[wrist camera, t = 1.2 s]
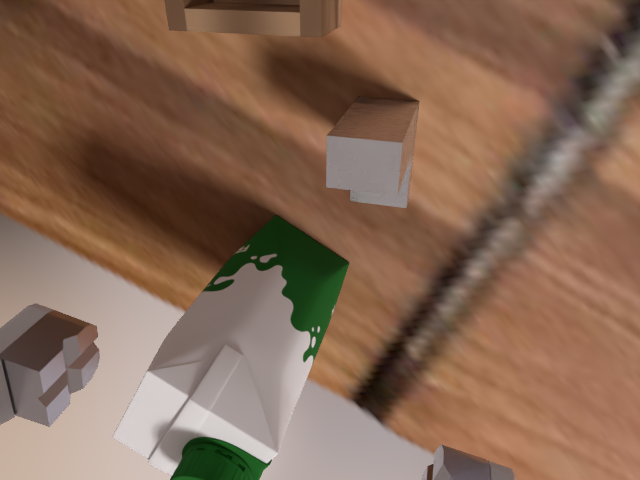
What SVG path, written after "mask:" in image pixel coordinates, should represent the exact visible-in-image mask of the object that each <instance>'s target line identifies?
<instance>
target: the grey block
mask: <svg viewBox="0 0 640 480" xmlns="http://www.w3.org/2000/svg"><path fill="white" fill-rule="evenodd" d="M418 109H419V101H408V100H395V99H381V98H368V97H358V98H357V99H356V101H355V102H354V103H353V104H352V105H351V107H350V108H349V109H348V110H347V112H346V113H345V114H344V115H343V116H342V118H341V119H340V120H339V121H338V123H337V124H336V125H335V126H334V127H333V129H332V130H331V131H330V132H329V134H328V135H327V178H326V187H329V188H337V189H345V190H351V191H350V201H355V202H363V203H371V204H379V205H387V206H395V207H402V208H406V207H407V204H408V200H409V194H410V184H411V175H412V165H413V156H414V146H415V137H416V128H417V118H418Z"/></svg>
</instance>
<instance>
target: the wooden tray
mask: <svg viewBox="0 0 640 480" xmlns="http://www.w3.org/2000/svg"><path fill="white" fill-rule="evenodd" d="M165 6H166V12H167V19H168V26H169V30H175V31H196V32H217V33H239V34H260V35H281V36H302V37H323V36H324V35H326V34H328V33H330V32H331V31H333V30H335V29H337V28H338V27H340V26H341V0H165Z"/></svg>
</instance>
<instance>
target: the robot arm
mask: <svg viewBox="0 0 640 480" xmlns="http://www.w3.org/2000/svg"><path fill="white" fill-rule="evenodd" d="M97 337H98V333H97V326H95V325H92V324H90V323H87V322H84V321H82V320H79V319H77V318H74V317H71V316H69V315H66V314H63V313H60V312H58V311H55V310H53V309H50V308H47V307H44V306H41V305H39V304H33V305H30V306H28V307H26V308H25V309H23V310H22V311H21V312H20V313H19V314H17V315H16V316H15V317H14V318H13V319H11V320H10V321H9V322H7V323H6V324H5V325H4V326H2V327H1V328H0V424H3V423H4V422H7V421H9V420H10V419H12V418H14V417H15V416H14V415H16V416H19V417H22V418H25V419H28V420H31V421H34V422H37V423H40V424H43V425H46V426H48V427H50V426H51V425H52V424H53V422H54V421H55V420H56V419H57V418H58V416H60V414H61V413H62V412H63V411H64V410H65V409H66V408H67V406H68V405H69V404H70V394H71V393H73V392H76V391H78V390H81V389H83V388H84V387H85V386H86V385H87V383H88V382H89V381H90V380H91V378H92V376H93V375H94V373H95V371H96V369H97V367H98V363H99V358H100V356H99V349H98V348H97V346H96V345H95V344H94V342H93V341H94V340H95V339H96V338H97ZM422 480H515V474H514V472H513V470H512V469H510V468H508V467H505V466H502V465H499V464H496V463H493V462H490V461H487V460H486V459H483V458H480V457H477V456H474V455H471V454H468V453H465V452H462V451H459V450H456V449H453V448H450V447H447V446H444V445H441V446H439V447H438V449H437V450H436V452H435V454H434V464H432V465H430V466H427V469H426V470H425V473H424V474H423V477H422Z"/></svg>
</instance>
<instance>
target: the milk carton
mask: <svg viewBox="0 0 640 480" xmlns="http://www.w3.org/2000/svg"><path fill="white" fill-rule="evenodd" d="M348 266H349V262H347V261H346V260H344V259H343V258H341V257H340V256H338V255H337V254H335V253H334V252H332V251H331V250H329V249H328V248H326V247H325V246H323V245H321V244H320V243H318V242H317V241H315V240H314V239H312V238H311V237H309V236H308V235H306V234H305V233H303V232H302V231H300V230H299V229H297V228H296V227H294V226H292V225H291V224H289V223H288V222H286V221H285V220H283V219H282V218H280V217H279V216H277V215H275V216H274V217H273V218H272V219H271V220H270V221H269V222H268V223H267V224H266V225H265V226H264V227H262V228H261V229H260V230H259V231H258V232H257V233H256V234H255V235H254V236H253V237H252V238H251V239H250V240H248V241H247V242H246V243H245V244H244V245H243V246H242V247H241V248H240V249H239V250H238V251H237V252H236V253H234V255H233V256H232V257H231V258H230V259H229V260H228V261H227V262H226V263H225V265H224V266H223V267H222V268H221V269H220V271H219V272H218V273H217V274H216V275H215V277H214V278H213V279H212V280H211V282H210V283H209V284H208V285H207V287H206V288H205V289H204V290H203V291H202V293H201V294H200V295H199V296H198V298H197V299H196V300H195V301H194V303H193V304H192V305H191V306H190V307H189V309H188V310H187V311H186V312H185V314H184V315H183V316H182V317H181V319H180V320H179V321H178V322H177V324H176V325H175V326H174V327H173V329H172V330H171V331H170V333H169V334H168V335H167V337H166V338H165V340H164V341H163V343H162V345H161V347H160V348H159V350H158V352H157V354H156V356H155V357H154V359H153V361H152V363H151V365H150V367H149V369H148V370H147V372H146V374H145V376H144V378H143V380H142V382H141V383H140V385H139V387H138V389H137V391H136V393H135V395H134V397H133V399H132V400H131V403H130V404H129V406H128V408H127V410H126V412H125V414H124V416H123V418H122V420H121V421H120V423H119V425H118V427H117V429H116V431H115V433H114V435H113V438H115V439H116V440H118V441H120V442H121V443H123V444H124V445H126V446H128V447H129V448H131V449H132V450H134V451H136V452H138V453H139V454H141V455H142V456H144V457H146V458H147V459H149V461H148V463H150V464H151V465H152V466H154V467H156V468H157V469H159V470H161V471H163V472H166V473H168V474H170V475H171V476H172V477H171V479H170V480H259V479H260V477H261V475H262V472H263V470H264V469H265V468H267V467H268V465H270V463H271V461H272V458H274V457H275V456H276V455H277V454H278V453H279V450H280V447H281V444H282V441H283V438H284V435H285V432H286V430H287V427H288V423H289V421H290V418H291V416H292V413H293V410H294V408H295V406H296V403H297V401H298V398H299V396H300V393H301V391H302V389H303V386H304V384H305V381H306V379H307V376H308V374H309V371H310V369H311V367H312V364H313V362H314V359H315V357H316V354H317V352H318V349H319V347H320V344H321V342H322V340H323V337H324V335H325V332H326V330H327V327H328V325H329V322H330V319H331V317H332V314H333V311H334V308H335V305H336V302H337V299H338V296H339V293H340V290H341V287H342V284H343V281H344V278H345V275H346V271H347V268H348Z"/></svg>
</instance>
